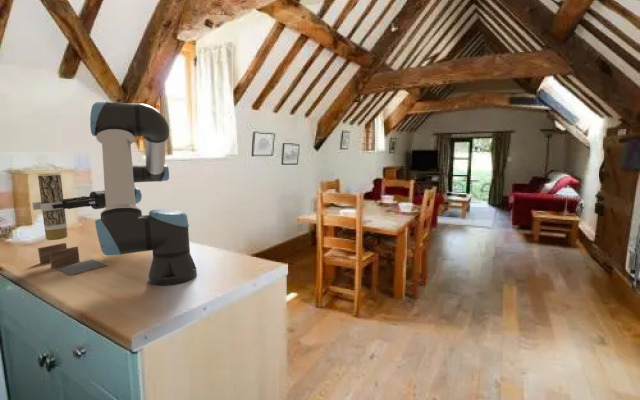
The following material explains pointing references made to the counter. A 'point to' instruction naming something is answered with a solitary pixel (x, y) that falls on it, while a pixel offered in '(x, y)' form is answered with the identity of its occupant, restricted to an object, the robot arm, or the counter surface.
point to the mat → (81, 267)
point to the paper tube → (50, 194)
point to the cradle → (58, 255)
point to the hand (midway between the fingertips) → (37, 207)
